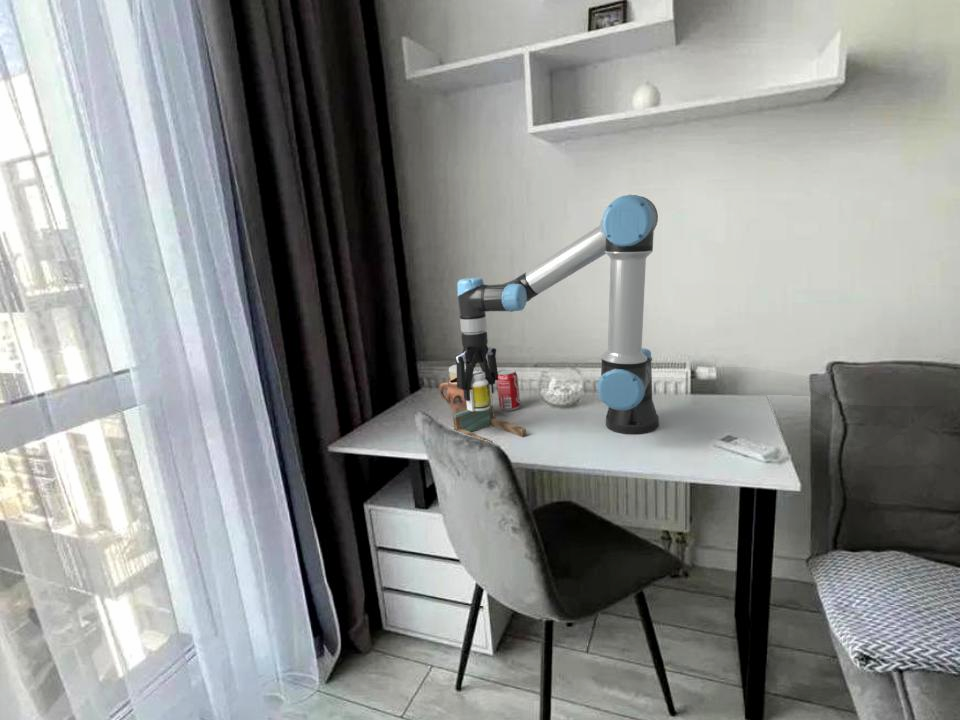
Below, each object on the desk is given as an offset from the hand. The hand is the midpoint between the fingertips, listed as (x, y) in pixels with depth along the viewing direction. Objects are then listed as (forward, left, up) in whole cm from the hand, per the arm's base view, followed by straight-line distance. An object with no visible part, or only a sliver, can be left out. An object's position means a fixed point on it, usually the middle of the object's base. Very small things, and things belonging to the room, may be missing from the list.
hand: (480, 407), depth 166 cm
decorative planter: (+14, -4, -8) cm, 17 cm away
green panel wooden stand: (-4, 0, -8) cm, 9 cm away
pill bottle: (0, 0, -1) cm, 1 cm away
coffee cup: (+34, -17, -8) cm, 39 cm away
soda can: (+11, -20, -8) cm, 25 cm away
